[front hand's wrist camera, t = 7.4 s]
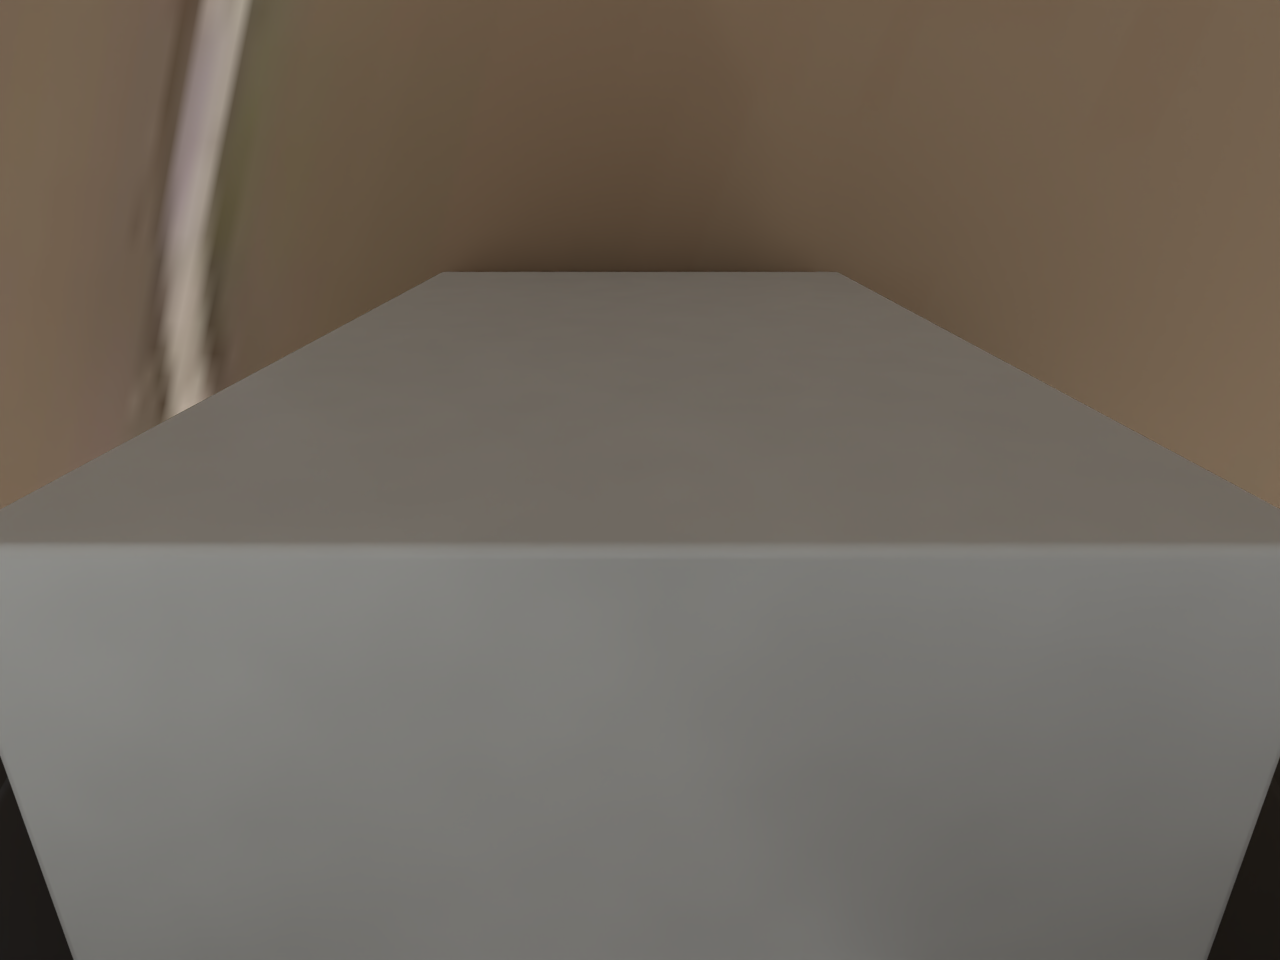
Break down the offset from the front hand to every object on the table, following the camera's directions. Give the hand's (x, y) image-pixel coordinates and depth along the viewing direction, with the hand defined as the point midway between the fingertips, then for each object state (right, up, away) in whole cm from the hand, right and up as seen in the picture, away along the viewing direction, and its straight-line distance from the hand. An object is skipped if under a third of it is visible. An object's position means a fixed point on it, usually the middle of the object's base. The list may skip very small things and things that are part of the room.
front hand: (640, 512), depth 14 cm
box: (0, -7, +3) cm, 8 cm away
